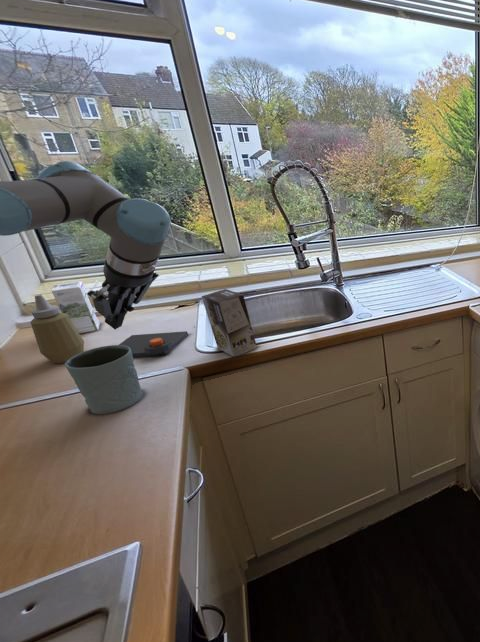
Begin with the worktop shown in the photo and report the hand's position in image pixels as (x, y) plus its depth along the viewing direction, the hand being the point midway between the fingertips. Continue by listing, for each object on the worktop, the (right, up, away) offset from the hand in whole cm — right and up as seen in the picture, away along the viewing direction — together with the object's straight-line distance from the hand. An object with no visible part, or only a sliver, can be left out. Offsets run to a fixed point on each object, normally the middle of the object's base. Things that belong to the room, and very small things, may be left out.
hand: (113, 323), depth 94 cm
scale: (-9, -7, +19) cm, 22 cm away
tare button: (-3, -7, +15) cm, 16 cm away
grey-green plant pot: (+5, -18, -4) cm, 19 cm away
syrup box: (-35, -3, +28) cm, 45 cm away
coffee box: (+16, -8, +19) cm, 26 cm away
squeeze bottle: (-25, -10, +13) cm, 29 cm away
